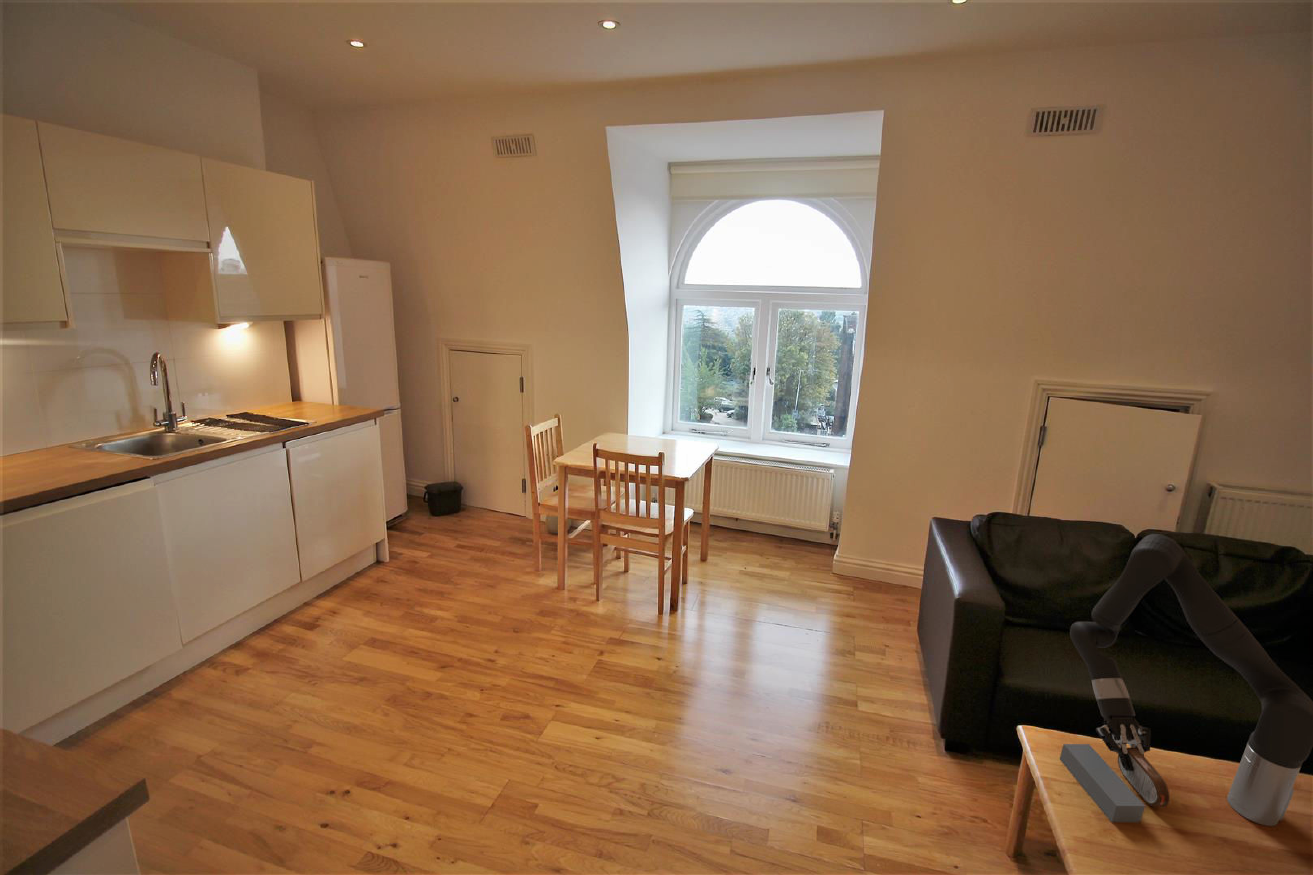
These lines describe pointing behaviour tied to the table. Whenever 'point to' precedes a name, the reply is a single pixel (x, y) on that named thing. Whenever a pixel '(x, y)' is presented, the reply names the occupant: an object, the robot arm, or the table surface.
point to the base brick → (1102, 783)
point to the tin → (1145, 779)
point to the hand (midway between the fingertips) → (1136, 770)
